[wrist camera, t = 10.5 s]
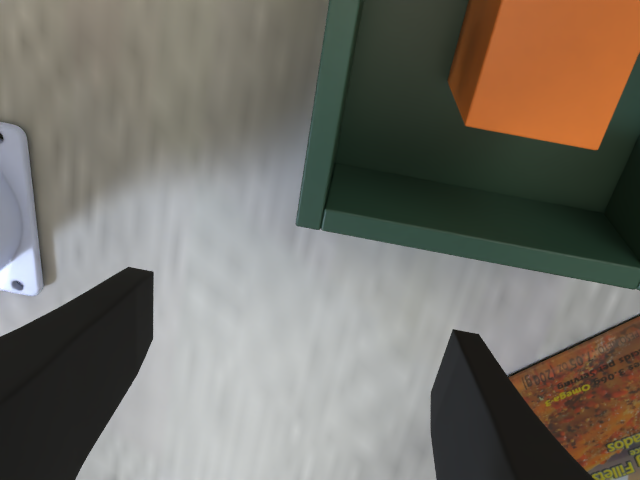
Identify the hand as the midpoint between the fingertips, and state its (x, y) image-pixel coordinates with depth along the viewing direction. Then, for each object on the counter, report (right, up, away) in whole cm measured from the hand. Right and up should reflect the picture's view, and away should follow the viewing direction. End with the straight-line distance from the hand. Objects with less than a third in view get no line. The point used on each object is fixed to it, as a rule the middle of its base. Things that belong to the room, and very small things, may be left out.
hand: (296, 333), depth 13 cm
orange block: (+7, +10, +4) cm, 13 cm away
